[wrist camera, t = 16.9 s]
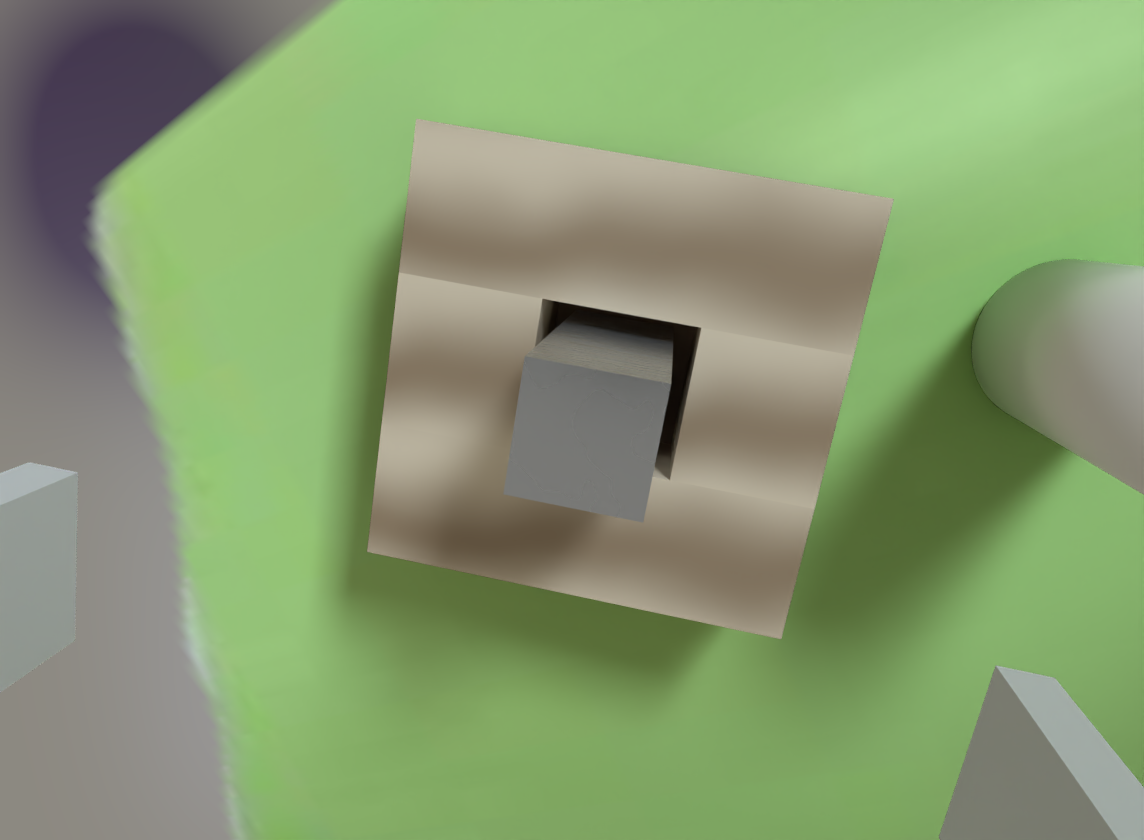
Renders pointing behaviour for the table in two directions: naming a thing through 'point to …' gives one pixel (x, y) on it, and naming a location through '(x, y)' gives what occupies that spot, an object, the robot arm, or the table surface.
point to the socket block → (633, 291)
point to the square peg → (592, 415)
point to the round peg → (1071, 359)
